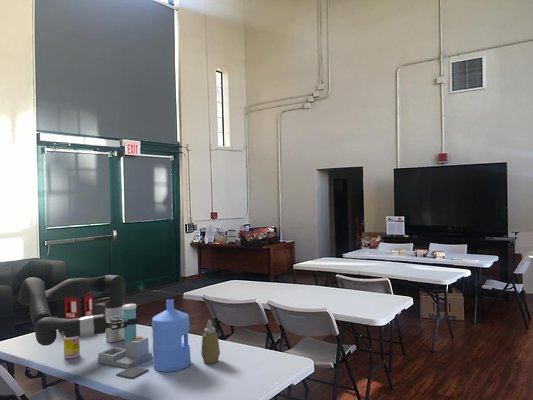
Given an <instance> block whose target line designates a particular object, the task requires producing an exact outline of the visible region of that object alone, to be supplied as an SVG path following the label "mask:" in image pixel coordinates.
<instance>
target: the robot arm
mask: <svg viewBox="0 0 533 400" xmlns="http://www.w3.org/2000/svg"><path fill="white" fill-rule="evenodd" d="M90 293H93V294H94V293H107V294H108V293H109V299H108V300H106V301H105V302H104V313H103V314H94V315H93V316H86V317H82V318H74V319H63V318H58V317H53V316H52V313H51V311H50V308H49V304H48V303H49V302H55V301H57V300H62V299H70V298H79V297H83V296H86V295H88V294H90ZM125 299H126V282H125V279H124V277H123V276H122V275H115V274H106V275H103V276H98V277H77V278H76V277H75V278H74V277H73V278H68V279H66V280H63V281H61V282H60V283H58V284H57V285H55V286H53V287H52V288H50V289H47V290H46V284H45V281H44V280H43V279H41V278H39V277H35V276H34V277H27V278H26V279H24V280H23V281H22V284H21V286H20V290H19V293H18V296H17V301H18V303H19V304H21V305H24V306H29V316H30V318H31V322H32V324H33V328H34V333H35V339H36V342H37V343H38V344H40V345H41V346H50V345H52V344H54V342H55V341H56V340H57V337H58V333H57V332H58V330H61V331H62V332H61V333H63V337H64V336H65V337H66V338H70V337H78V336H79V337H87V336H88V337H89V336H95V335H96V336H97V335H103V334H105V341H106V343H107V342H108V343H116V342H120V341H123V340H124V328H126V327H127V326H128V325H134V324H136V325H137V324H139V320H138V318H137V317H136V318H135V319H126V320H124V313H123V305H125V304H124V303H125V301H126V300H125Z"/></svg>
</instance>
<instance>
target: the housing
mask: <svg viewBox="0 0 533 400" xmlns="http://www.w3.org/2000/svg"><path fill="white" fill-rule="evenodd" d="M124 345H125V348H124V347H111V348H109V349H106V350H104V351H101V352H99V353H98V354H97V355H98V356H97V358H96V359H97V360H96V361H97V363H98V364H104V365H109V366H114V367H118V368H123V369H128V368H130V367H132V366H134V367H137V366H138V365H140V364H142V363H144V362H146V361H148V360H151V359H152V358H153V353H152V352H149V351H150V350H149V337H145V336H141V340H139V341H131V342H126V341H124Z"/></svg>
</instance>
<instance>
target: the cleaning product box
mask: <svg viewBox="0 0 533 400" xmlns="http://www.w3.org/2000/svg"><path fill="white" fill-rule="evenodd" d="M56 301H57V302H56V305H57V318H63V319H74V318H82V317H86V316H93V315H95V311H94V310H95V308H94V306H95V305H94V293H90V294H88V295H86V296H83V297H79V298H70V299H62V300H56ZM57 332H58V333H63V332H62V331H61V330H57Z"/></svg>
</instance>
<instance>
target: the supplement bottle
mask: <svg viewBox="0 0 533 400" xmlns="http://www.w3.org/2000/svg"><path fill="white" fill-rule="evenodd" d="M80 347H81V346H80V336H78V337H70V338H66V337H65V336H64V335H63V356H64V358H65V359H75V358H78V357H79V356H80V354H81V351H80Z"/></svg>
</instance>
